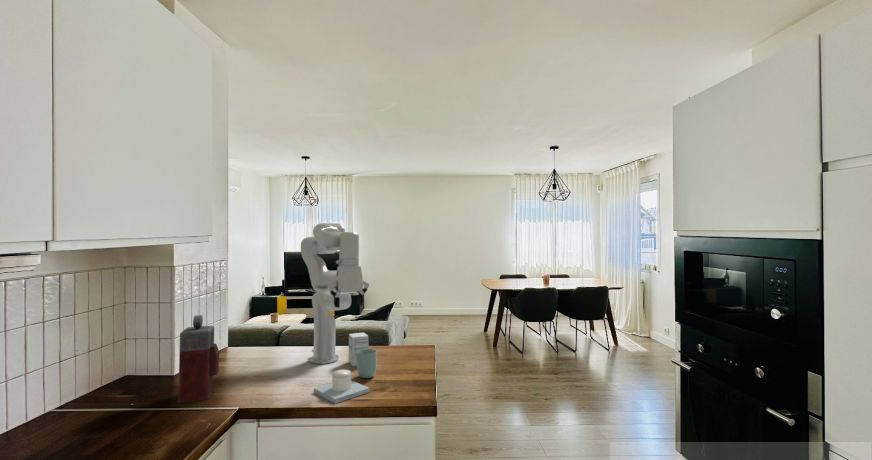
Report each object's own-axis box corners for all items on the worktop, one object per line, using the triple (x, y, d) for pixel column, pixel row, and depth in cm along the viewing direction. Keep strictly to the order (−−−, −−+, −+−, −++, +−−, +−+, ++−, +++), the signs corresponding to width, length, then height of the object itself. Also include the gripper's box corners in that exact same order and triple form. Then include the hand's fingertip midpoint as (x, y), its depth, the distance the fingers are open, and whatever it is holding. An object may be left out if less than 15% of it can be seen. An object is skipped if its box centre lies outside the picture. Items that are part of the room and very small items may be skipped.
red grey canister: (216, 398, 135) (217, 316, 136) (178, 402, 131) (180, 318, 132) (220, 389, 144) (221, 312, 144) (184, 393, 140) (186, 313, 140)
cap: (351, 390, 138) (351, 374, 139) (332, 392, 137) (332, 376, 137) (350, 384, 145) (350, 368, 145) (332, 385, 143) (332, 370, 143)
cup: (366, 381, 151) (366, 355, 152) (352, 377, 156) (352, 352, 156) (380, 376, 158) (380, 351, 158) (367, 372, 162) (367, 347, 163)
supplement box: (348, 362, 176) (348, 333, 177) (364, 360, 179) (364, 332, 180) (351, 366, 170) (352, 337, 170) (368, 364, 173) (368, 335, 173)
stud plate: (313, 392, 140) (314, 376, 140) (347, 382, 150) (347, 368, 151) (335, 403, 131) (335, 386, 131) (369, 392, 141) (369, 376, 141)
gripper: (331, 264, 149) (331, 309, 148) (372, 262, 159) (372, 305, 158) (324, 263, 155) (324, 306, 154) (364, 262, 165) (364, 303, 164)
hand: (348, 306), depth 156 cm, fingers open, 9 cm apart
